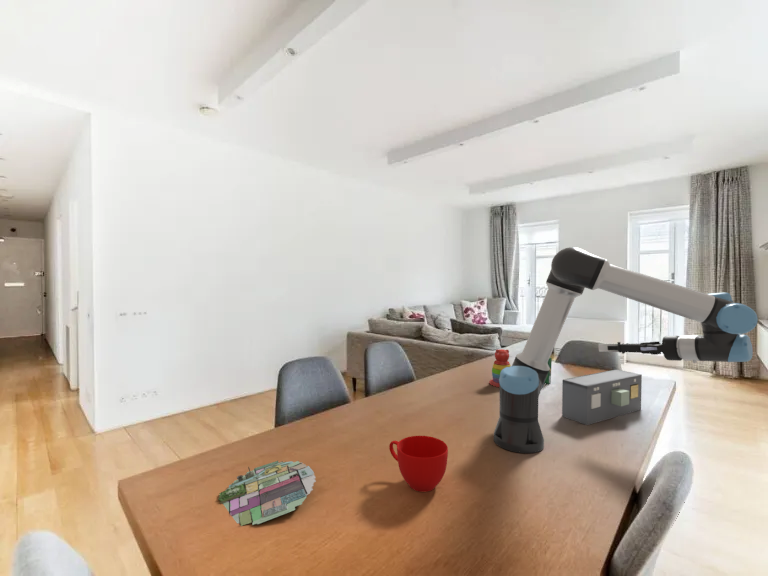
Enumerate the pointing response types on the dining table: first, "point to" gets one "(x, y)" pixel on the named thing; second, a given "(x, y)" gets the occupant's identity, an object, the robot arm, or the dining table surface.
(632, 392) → the brass button
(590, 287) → the robot arm
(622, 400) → the sage button
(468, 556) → the dining table surface
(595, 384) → the button console
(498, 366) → the stacking bear
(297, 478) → the city model
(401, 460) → the ceramic cup
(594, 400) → the white button
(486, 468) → the dining table surface
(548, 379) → the coffee box
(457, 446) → the dining table surface
